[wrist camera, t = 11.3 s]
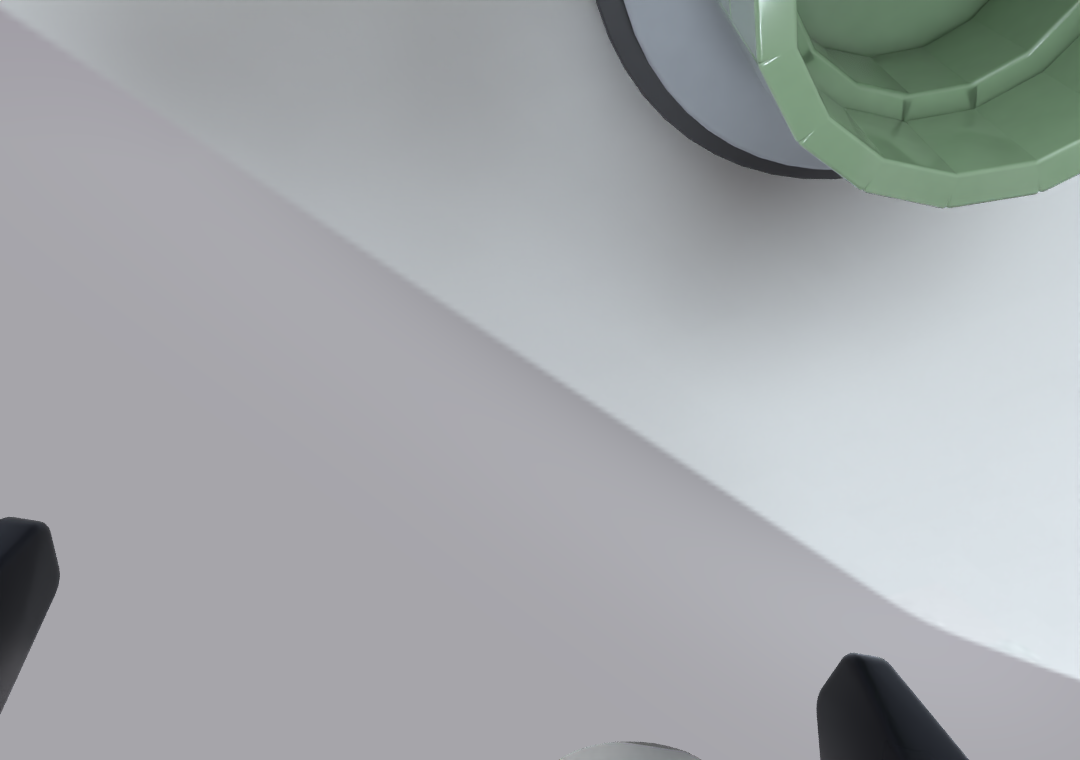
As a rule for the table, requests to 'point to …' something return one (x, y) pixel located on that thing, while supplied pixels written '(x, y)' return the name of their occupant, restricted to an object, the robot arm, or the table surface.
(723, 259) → the table surface
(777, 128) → the scale
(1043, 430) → the table surface
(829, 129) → the cup
